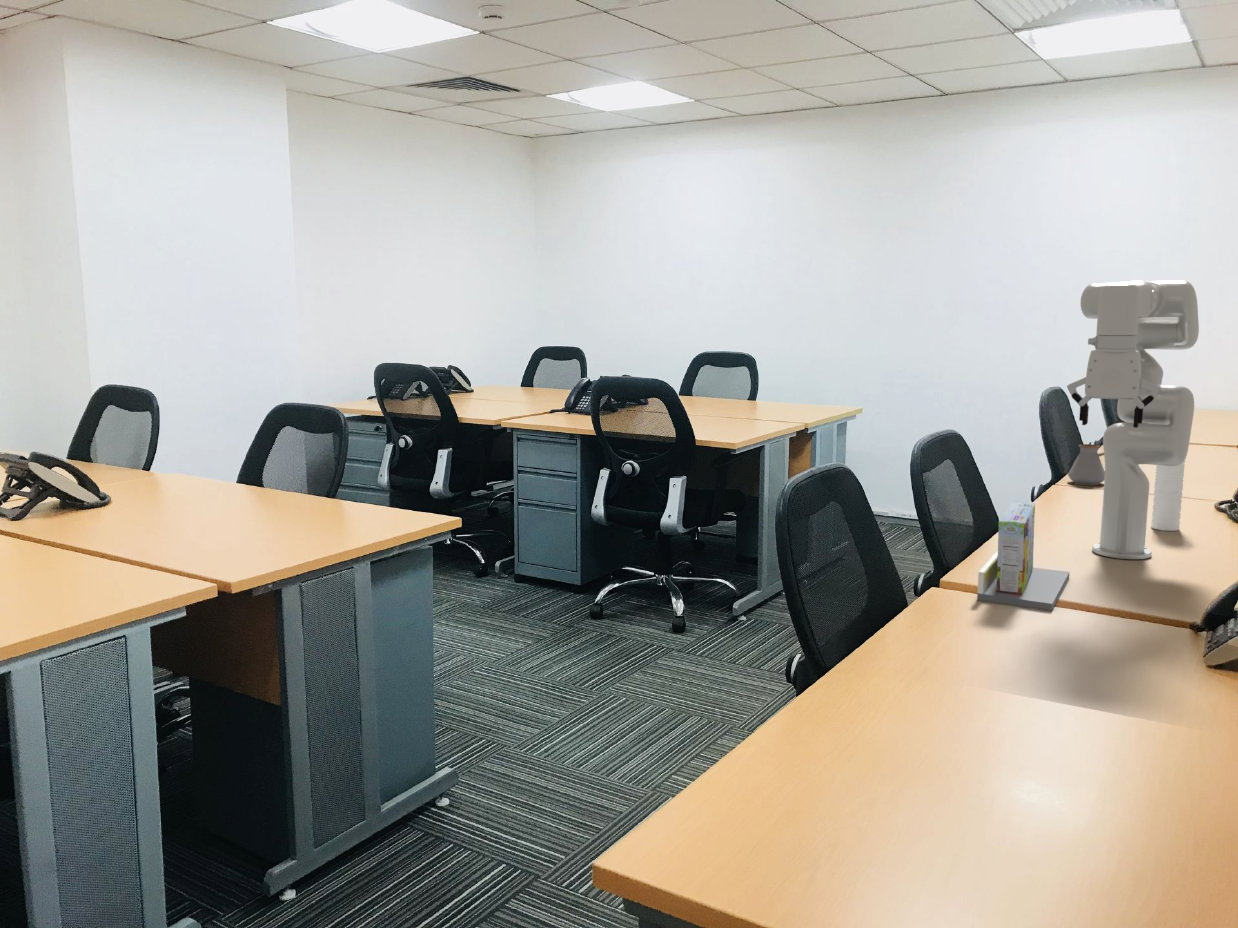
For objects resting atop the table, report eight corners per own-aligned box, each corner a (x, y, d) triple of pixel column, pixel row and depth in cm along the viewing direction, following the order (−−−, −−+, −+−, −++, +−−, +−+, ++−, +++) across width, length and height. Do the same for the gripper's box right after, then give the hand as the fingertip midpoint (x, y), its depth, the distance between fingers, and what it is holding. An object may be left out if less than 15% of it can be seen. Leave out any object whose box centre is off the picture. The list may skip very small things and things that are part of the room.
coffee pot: (1064, 484, 313) (1067, 440, 311) (1070, 479, 323) (1073, 435, 320) (1137, 490, 301) (1141, 444, 299) (1141, 485, 311) (1144, 440, 308)
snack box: (1006, 566, 211) (1010, 500, 209) (1033, 569, 208) (1037, 502, 206) (993, 591, 193) (997, 519, 190) (1023, 595, 190) (1027, 522, 188)
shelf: (1001, 569, 214) (1002, 544, 213) (1069, 578, 207) (1070, 551, 206) (976, 600, 192) (978, 571, 191) (1051, 611, 185) (1053, 581, 184)
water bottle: (1175, 532, 246) (1184, 438, 242) (1148, 528, 251) (1155, 436, 247) (1183, 526, 253) (1191, 434, 249) (1156, 523, 257) (1164, 432, 253)
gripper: (1067, 344, 197) (1062, 425, 200) (1162, 345, 188) (1155, 430, 191) (1072, 342, 204) (1067, 421, 206) (1164, 343, 194) (1158, 425, 197)
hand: (1110, 425), depth 199 cm, fingers open, 9 cm apart
